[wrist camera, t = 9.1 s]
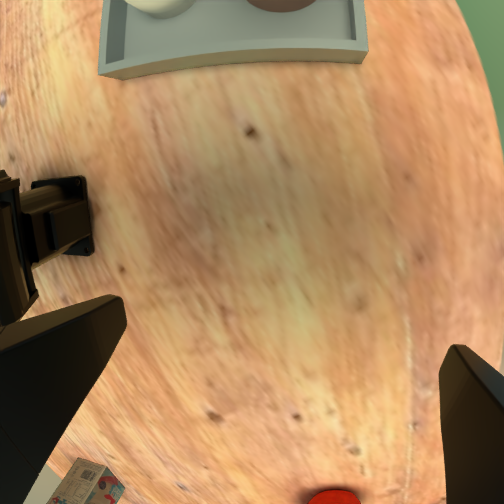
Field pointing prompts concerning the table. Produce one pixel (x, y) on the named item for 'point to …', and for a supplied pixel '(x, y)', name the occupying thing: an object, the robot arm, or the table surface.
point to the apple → (334, 498)
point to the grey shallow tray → (228, 36)
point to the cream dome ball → (162, 7)
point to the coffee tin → (281, 5)
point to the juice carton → (88, 485)
